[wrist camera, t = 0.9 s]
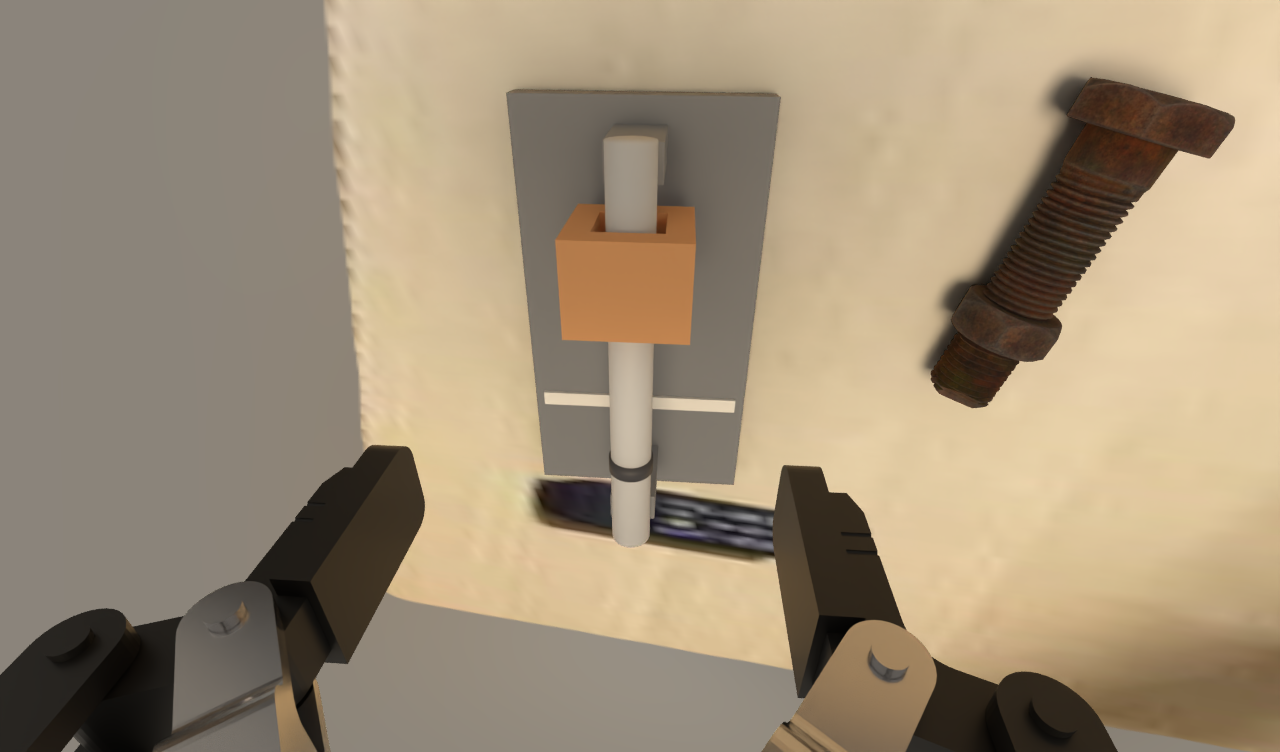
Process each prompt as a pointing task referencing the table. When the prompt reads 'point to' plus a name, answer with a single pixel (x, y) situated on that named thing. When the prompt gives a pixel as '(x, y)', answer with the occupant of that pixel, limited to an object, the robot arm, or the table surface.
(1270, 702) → the table surface
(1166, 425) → the table surface
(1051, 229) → the bolt
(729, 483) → the pipe stand
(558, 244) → the collar
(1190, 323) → the table surface
